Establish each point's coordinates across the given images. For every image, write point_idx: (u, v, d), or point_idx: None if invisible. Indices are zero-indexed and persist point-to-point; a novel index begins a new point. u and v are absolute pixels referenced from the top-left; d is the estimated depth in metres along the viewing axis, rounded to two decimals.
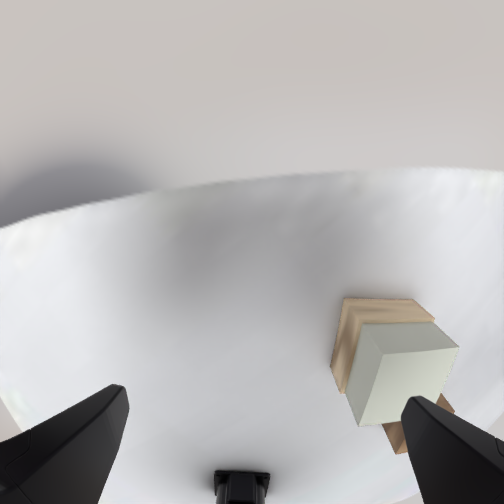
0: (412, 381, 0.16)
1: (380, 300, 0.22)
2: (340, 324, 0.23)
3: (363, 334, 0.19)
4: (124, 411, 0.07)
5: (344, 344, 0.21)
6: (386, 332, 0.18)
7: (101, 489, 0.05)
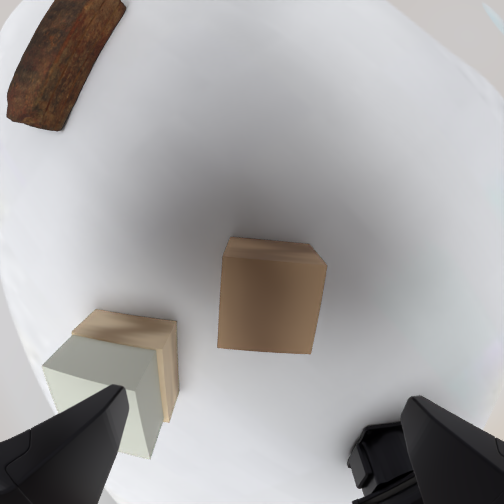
0: None
1: None
2: None
3: None
4: (124, 411, 0.07)
5: None
6: None
7: (101, 489, 0.05)
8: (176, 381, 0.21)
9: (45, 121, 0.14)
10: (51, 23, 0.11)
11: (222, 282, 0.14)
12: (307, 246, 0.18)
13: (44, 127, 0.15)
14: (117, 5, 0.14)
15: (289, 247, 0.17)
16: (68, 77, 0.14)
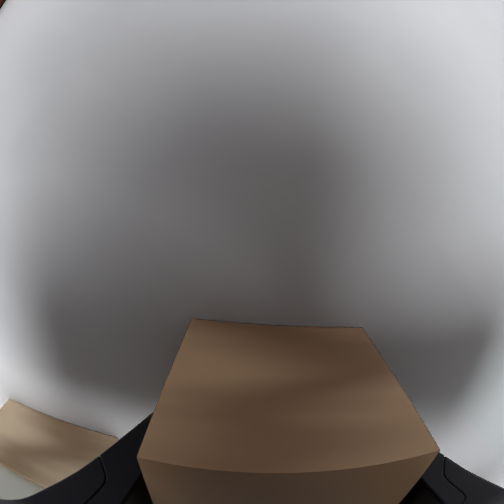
0: None
1: None
2: None
3: None
4: None
5: None
6: None
7: None
8: None
9: None
10: None
11: (154, 494, 0.04)
12: (363, 343, 0.07)
13: None
14: None
15: (328, 359, 0.07)
16: None
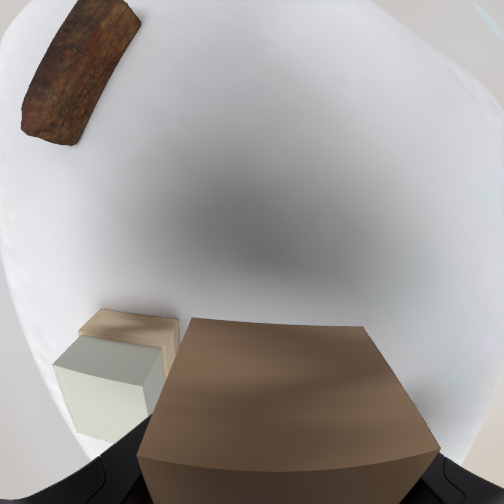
0: (94, 412, 0.15)
1: None
2: None
3: None
4: None
5: None
6: None
7: None
8: None
9: (61, 136, 0.16)
10: (67, 37, 0.12)
11: (154, 493, 0.04)
12: (364, 341, 0.07)
13: (59, 142, 0.16)
14: (133, 21, 0.15)
15: (328, 358, 0.07)
16: (84, 93, 0.15)
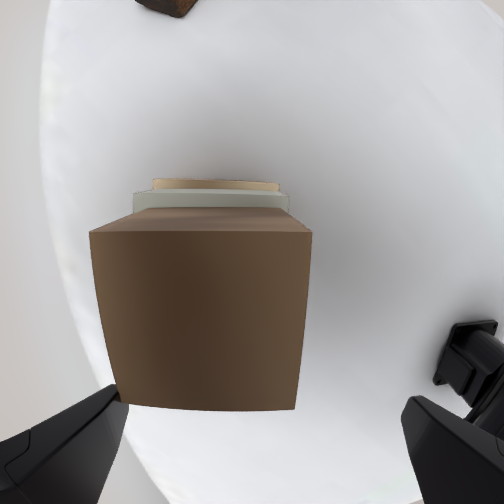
0: None
1: None
2: None
3: None
4: (124, 411, 0.07)
5: None
6: None
7: (100, 489, 0.05)
8: None
9: None
10: None
11: (98, 285, 0.07)
12: (276, 210, 0.10)
13: (177, 2, 0.13)
14: None
15: (241, 212, 0.09)
16: None
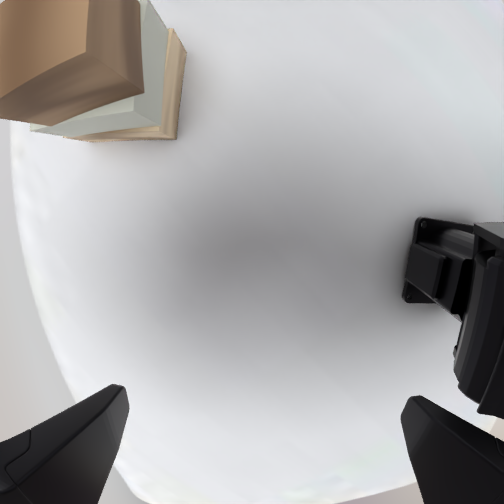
0: None
1: None
2: (115, 140, 0.18)
3: (70, 135, 0.14)
4: (124, 411, 0.07)
5: (113, 136, 0.16)
6: None
7: (101, 489, 0.05)
8: (175, 114, 0.17)
9: None
10: None
11: None
12: None
13: None
14: None
15: None
16: None
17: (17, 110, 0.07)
